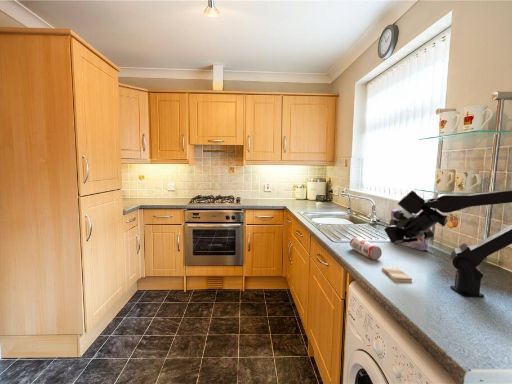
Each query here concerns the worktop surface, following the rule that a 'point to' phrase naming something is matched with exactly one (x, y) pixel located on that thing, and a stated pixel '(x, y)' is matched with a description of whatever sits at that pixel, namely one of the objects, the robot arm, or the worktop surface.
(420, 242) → the cake pan box
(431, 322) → the worktop surface
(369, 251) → the beer can
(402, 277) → the chopping board
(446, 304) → the worktop surface
